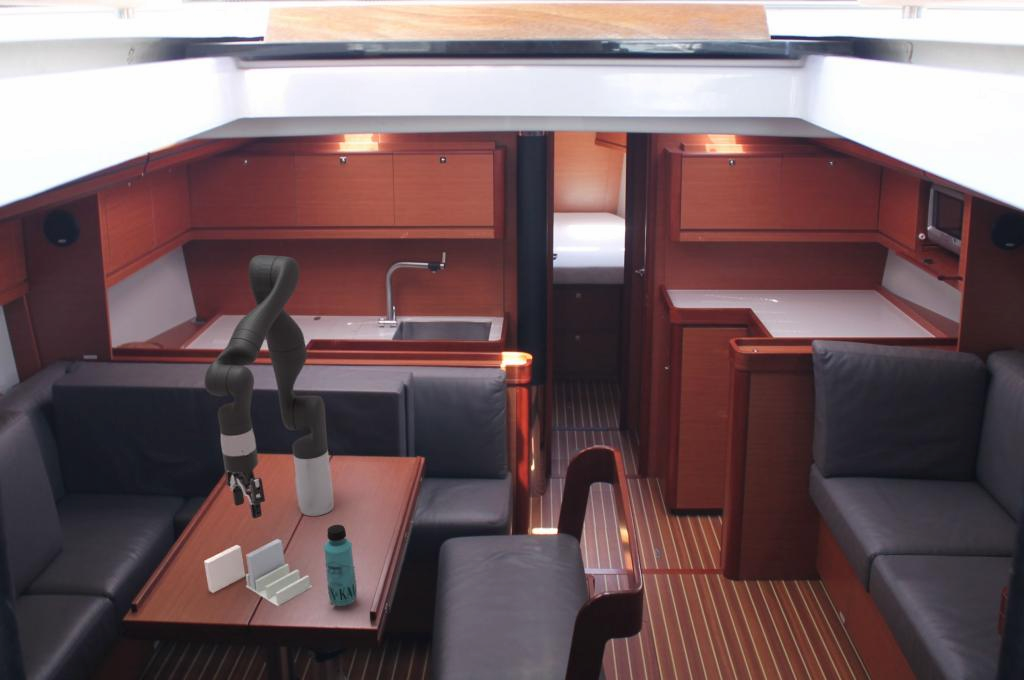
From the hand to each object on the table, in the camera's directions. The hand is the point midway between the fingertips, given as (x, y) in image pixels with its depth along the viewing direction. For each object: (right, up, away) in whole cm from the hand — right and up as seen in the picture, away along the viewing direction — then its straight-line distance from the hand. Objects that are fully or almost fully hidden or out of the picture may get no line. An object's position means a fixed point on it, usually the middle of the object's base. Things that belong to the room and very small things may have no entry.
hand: (248, 510), depth 226 cm
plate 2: (+3, -18, +7) cm, 19 cm away
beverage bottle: (+23, -21, -2) cm, 31 cm away
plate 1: (-7, -19, +6) cm, 21 cm away
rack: (+6, -20, +4) cm, 21 cm away
